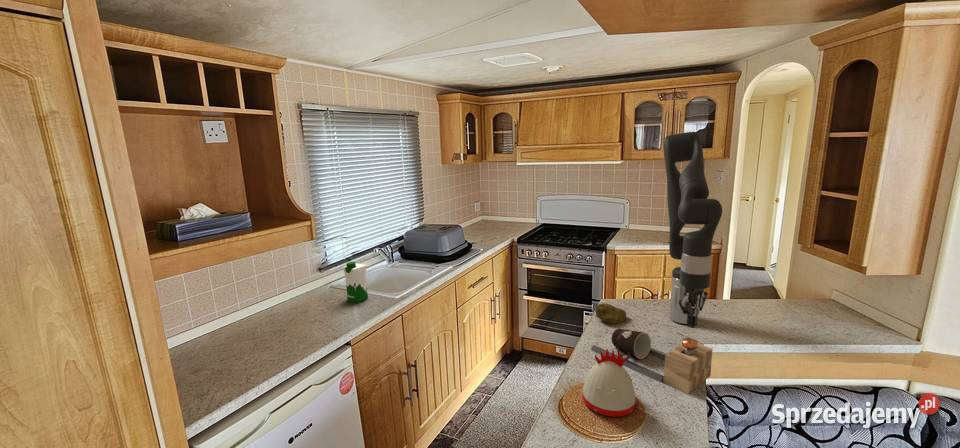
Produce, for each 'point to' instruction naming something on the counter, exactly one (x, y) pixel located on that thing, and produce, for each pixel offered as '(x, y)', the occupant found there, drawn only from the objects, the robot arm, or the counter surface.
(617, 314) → the potato
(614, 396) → the kitchen timer
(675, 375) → the hollow wooden block stack
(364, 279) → the milk carton
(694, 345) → the button
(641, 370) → the guide rails
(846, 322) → the counter surface
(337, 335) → the counter surface
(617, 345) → the coffee mug
